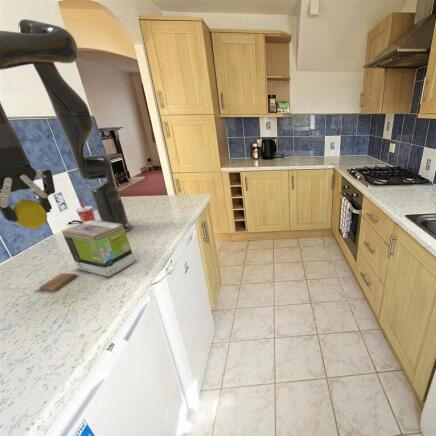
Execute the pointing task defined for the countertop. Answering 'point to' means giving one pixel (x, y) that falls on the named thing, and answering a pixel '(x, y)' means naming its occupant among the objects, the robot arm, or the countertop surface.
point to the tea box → (99, 247)
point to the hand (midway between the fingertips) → (31, 216)
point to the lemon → (30, 214)
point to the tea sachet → (57, 282)
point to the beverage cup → (85, 213)
